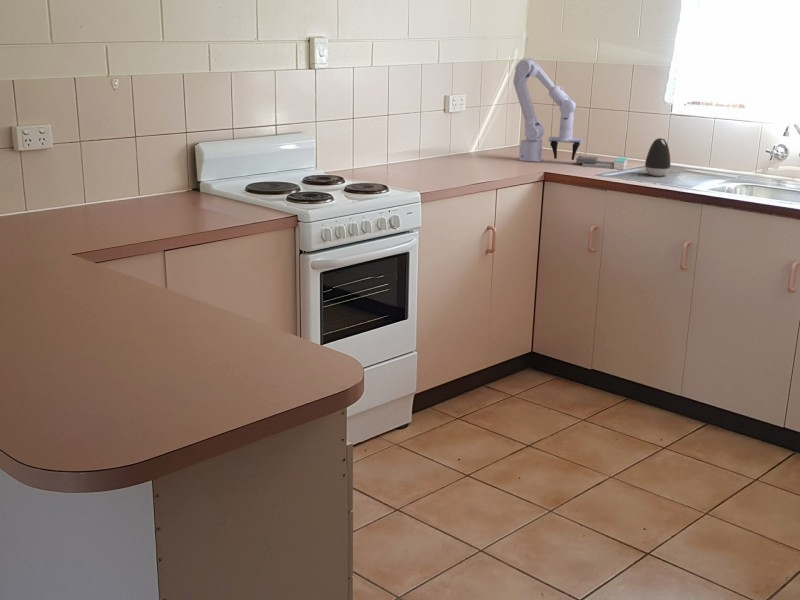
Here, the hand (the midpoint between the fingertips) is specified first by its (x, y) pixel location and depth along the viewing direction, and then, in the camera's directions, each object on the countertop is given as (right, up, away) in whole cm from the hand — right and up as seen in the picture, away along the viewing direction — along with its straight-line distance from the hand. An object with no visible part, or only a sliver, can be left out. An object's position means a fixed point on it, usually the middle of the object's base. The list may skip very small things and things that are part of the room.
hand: (564, 159), depth 410 cm
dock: (+17, -4, -5) cm, 18 cm away
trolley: (+9, -3, -3) cm, 10 cm away
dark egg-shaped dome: (+34, -11, -25) cm, 43 cm away
